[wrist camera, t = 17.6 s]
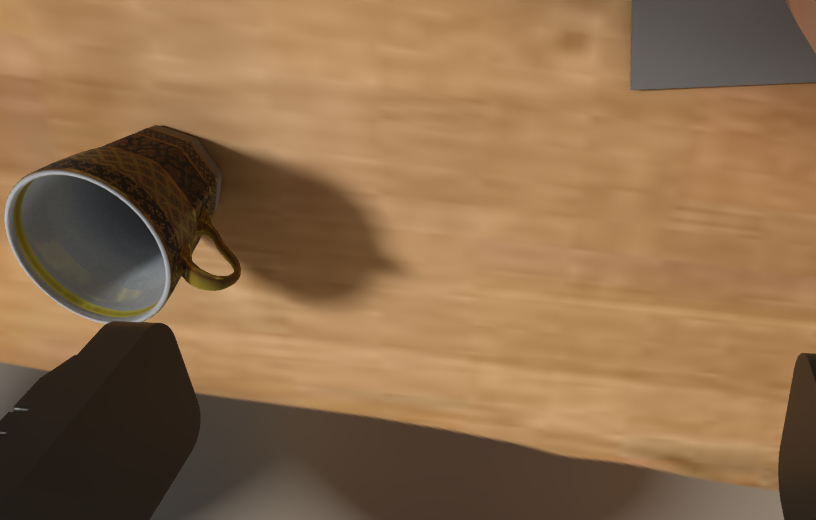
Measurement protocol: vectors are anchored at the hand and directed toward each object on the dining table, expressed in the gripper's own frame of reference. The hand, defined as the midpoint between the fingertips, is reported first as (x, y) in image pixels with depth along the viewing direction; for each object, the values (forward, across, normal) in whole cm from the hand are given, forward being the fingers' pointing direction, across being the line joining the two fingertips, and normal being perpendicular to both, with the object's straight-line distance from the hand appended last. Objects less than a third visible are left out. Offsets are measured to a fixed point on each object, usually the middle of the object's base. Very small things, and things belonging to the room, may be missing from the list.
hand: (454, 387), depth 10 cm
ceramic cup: (+33, +24, +13) cm, 43 cm away
